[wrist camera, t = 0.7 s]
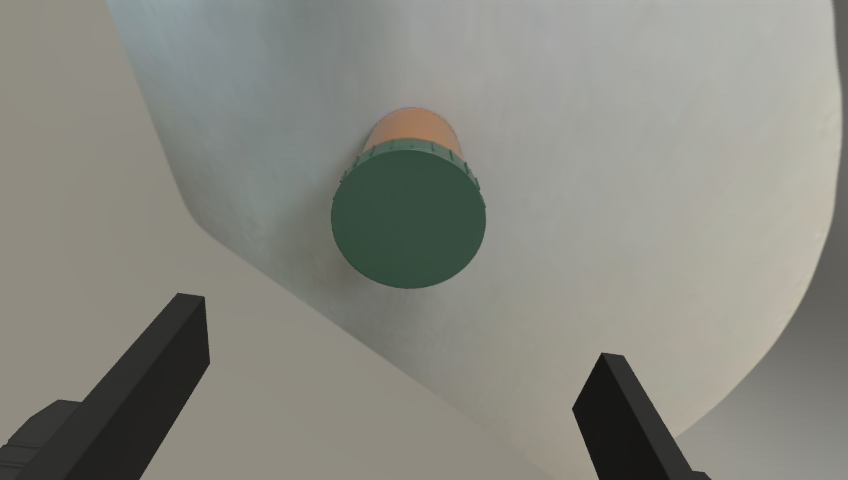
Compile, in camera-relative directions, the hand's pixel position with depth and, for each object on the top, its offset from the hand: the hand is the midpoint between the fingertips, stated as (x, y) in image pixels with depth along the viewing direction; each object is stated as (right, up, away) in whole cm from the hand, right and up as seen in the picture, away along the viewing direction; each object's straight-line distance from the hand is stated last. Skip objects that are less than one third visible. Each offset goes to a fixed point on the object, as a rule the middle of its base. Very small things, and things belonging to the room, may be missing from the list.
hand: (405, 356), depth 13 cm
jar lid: (0, +5, +9) cm, 10 cm away
